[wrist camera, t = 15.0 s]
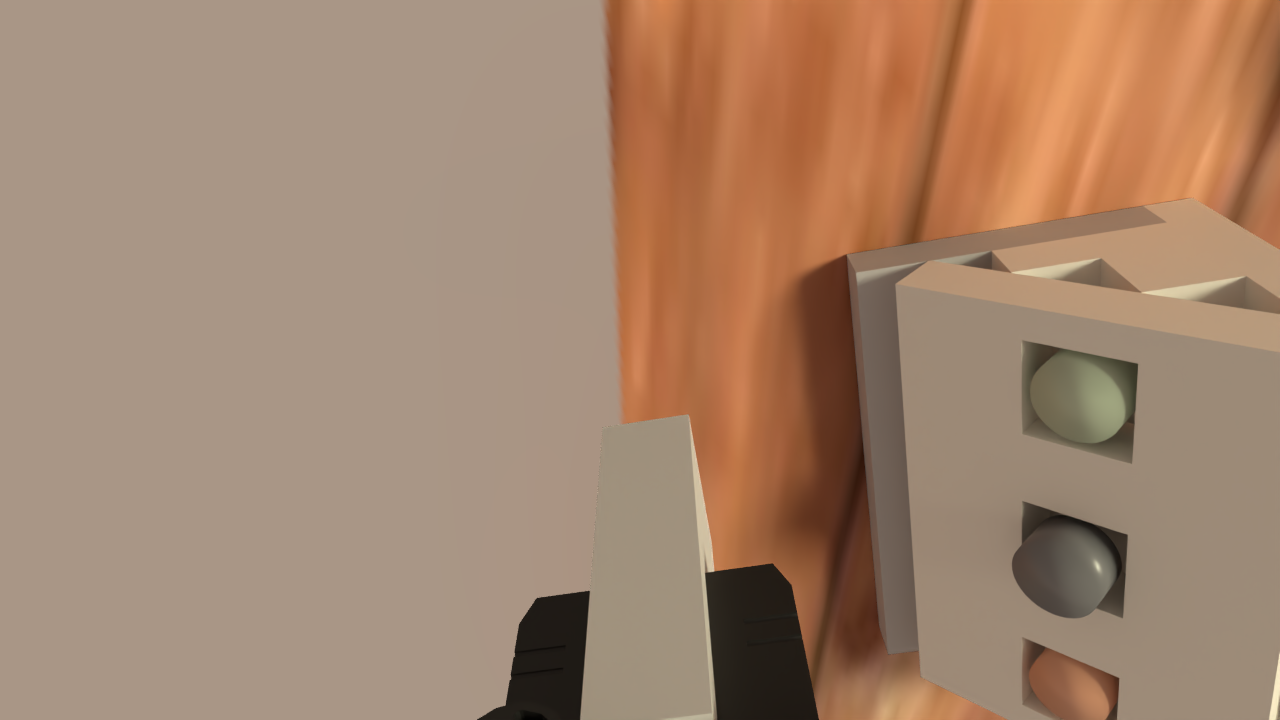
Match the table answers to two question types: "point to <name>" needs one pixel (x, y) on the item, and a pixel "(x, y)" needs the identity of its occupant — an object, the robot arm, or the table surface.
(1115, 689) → the terracotta button
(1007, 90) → the table surface
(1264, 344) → the button console
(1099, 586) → the charcoal button
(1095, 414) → the sage button
